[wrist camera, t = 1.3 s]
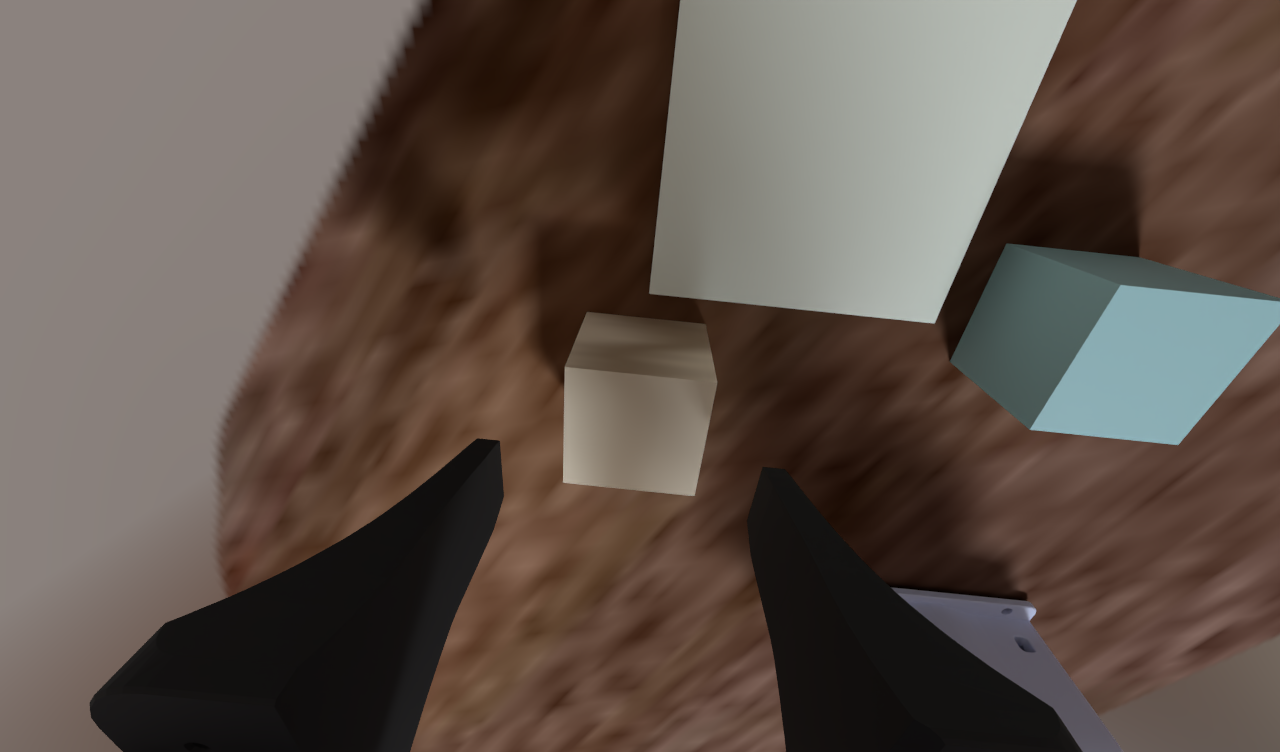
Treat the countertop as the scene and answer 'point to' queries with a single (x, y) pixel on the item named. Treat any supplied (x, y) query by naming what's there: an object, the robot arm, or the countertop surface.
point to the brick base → (637, 403)
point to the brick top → (1109, 342)
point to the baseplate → (840, 146)
